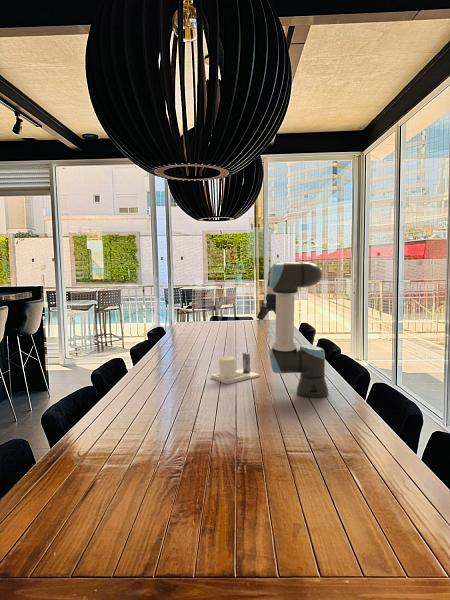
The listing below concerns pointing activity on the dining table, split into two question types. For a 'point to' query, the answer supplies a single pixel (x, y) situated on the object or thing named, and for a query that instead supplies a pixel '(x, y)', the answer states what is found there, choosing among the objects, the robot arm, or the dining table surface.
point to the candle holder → (227, 367)
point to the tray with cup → (239, 372)
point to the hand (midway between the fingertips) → (269, 331)
